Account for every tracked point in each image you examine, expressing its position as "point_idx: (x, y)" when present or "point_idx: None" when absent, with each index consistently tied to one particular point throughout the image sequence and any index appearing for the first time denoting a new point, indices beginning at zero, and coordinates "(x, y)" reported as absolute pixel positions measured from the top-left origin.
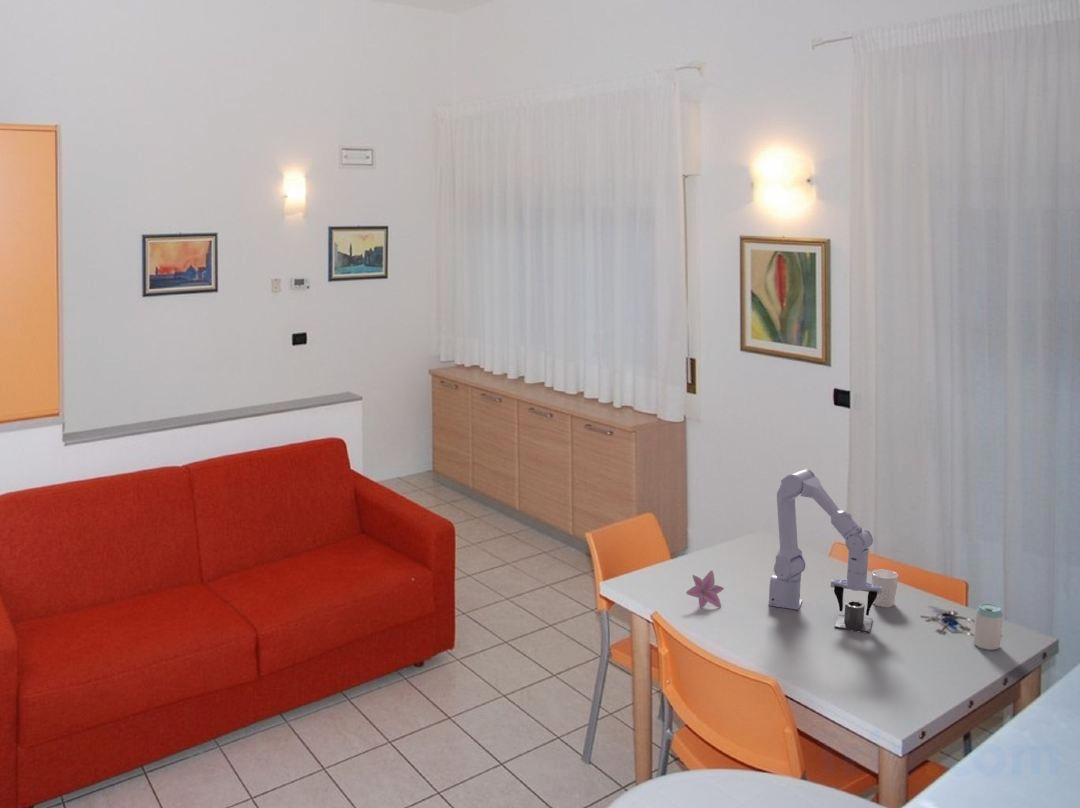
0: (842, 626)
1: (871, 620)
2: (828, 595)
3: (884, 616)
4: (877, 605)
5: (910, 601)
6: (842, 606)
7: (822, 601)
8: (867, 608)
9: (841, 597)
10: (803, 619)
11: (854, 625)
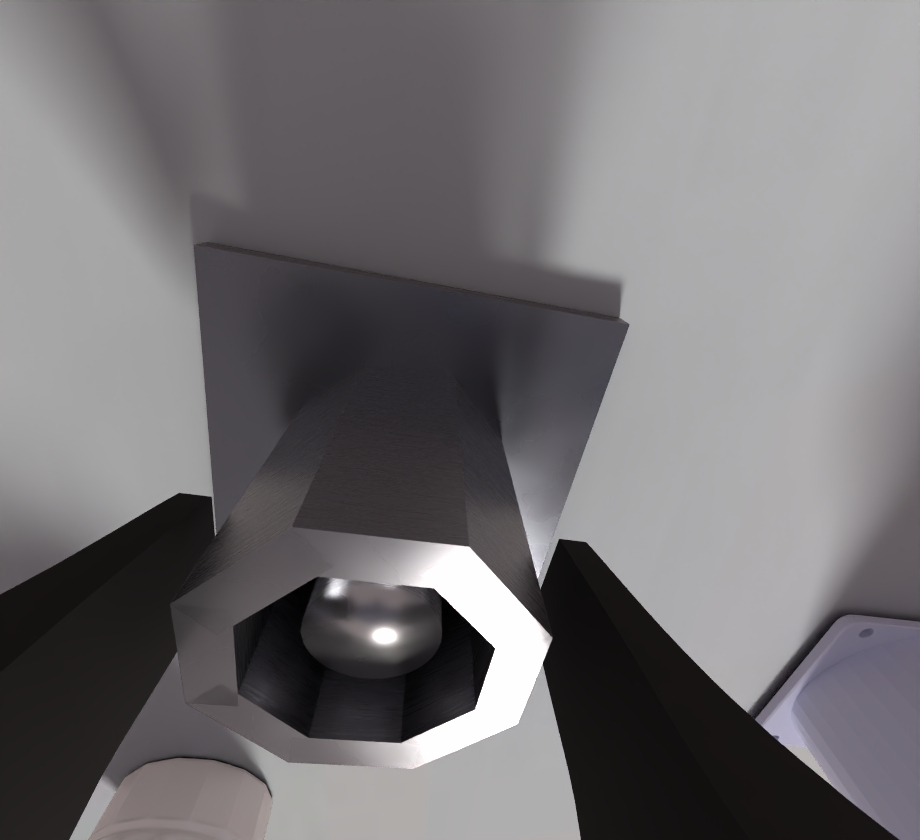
0: (536, 336)
1: None
2: (541, 807)
3: None
4: (226, 766)
5: None
6: (559, 623)
7: None
8: (101, 573)
9: (737, 803)
10: (879, 461)
11: (391, 371)
